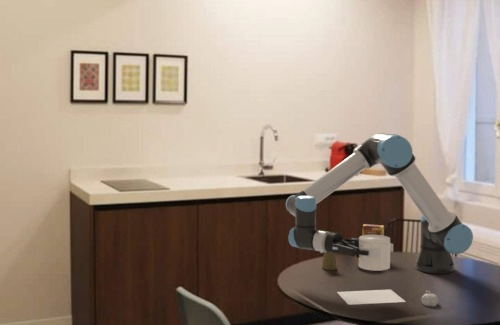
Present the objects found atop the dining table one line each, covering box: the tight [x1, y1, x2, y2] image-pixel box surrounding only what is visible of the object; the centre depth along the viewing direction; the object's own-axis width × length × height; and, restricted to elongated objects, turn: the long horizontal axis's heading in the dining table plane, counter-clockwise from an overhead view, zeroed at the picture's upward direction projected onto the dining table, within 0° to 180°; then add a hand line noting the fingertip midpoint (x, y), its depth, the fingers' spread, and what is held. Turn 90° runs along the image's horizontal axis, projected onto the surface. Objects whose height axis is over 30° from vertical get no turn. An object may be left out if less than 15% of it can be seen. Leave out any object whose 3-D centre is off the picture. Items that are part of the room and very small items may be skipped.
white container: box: [358, 235, 391, 272], centre depth 212 cm, size 10×10×10 cm
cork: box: [321, 252, 338, 271], centre depth 255 cm, size 6×6×11 cm
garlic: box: [421, 290, 439, 307], centre depth 206 cm, size 6×5×5 cm
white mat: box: [336, 289, 407, 306], centre depth 214 cm, size 20×14×1 cm
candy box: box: [361, 223, 385, 236], centre depth 267 cm, size 9×4×15 cm, turn 73°
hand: (385, 251), depth 209 cm, fingers closed on white container, 10 cm apart
